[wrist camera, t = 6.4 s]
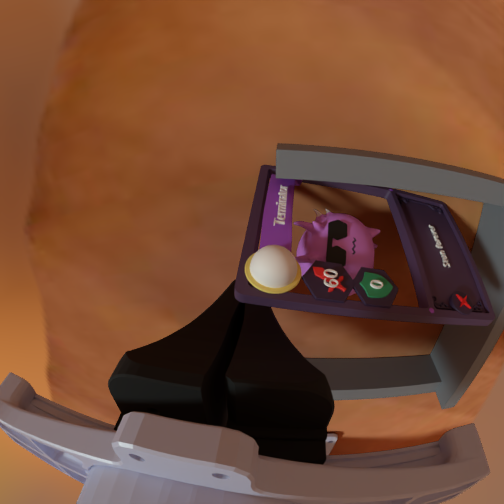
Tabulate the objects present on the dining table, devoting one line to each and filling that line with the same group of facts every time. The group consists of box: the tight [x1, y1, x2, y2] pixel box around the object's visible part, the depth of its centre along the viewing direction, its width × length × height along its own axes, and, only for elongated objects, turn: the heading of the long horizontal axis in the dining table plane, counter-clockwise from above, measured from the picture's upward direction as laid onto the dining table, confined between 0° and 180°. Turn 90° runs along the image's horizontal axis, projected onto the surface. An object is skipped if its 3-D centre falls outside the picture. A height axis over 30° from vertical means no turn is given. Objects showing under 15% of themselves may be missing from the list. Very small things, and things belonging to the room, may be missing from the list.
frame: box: [276, 143, 504, 409], centre depth 12 cm, size 13×12×4 cm
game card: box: [234, 165, 495, 326], centre depth 11 cm, size 7×5×9 cm
